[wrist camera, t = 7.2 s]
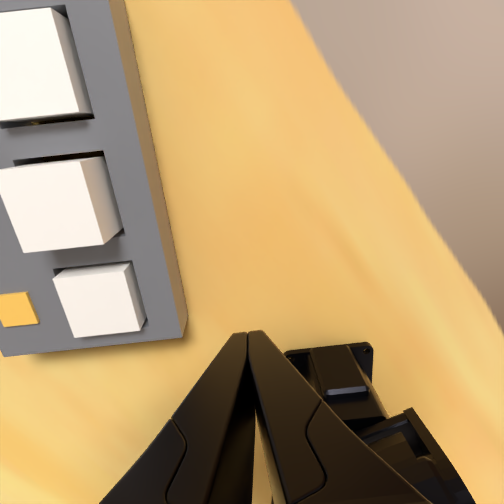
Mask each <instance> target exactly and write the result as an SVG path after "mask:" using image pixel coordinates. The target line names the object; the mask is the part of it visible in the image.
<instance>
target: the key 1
mask: <svg viewBox="0 0 504 504" xmlns="http://www.w3.org/2000/svg"><path fill="white" fill-rule="evenodd" d="M87 116H94V113H93V109H92V105H91V101H90V98H89V94H88V90H87V86H86V82H85V79H84V75H83V71H82V67H81V63H80V59H79V56H78V52H77V48H76V44H75V40H74V37H73V33H72V29H71V25H70V21H69V19H67V18H66V17H64V16H63V15H61V14H60V13H58V12H57V11H55V10H53V9H52V8H41V9H31V10H22V11H13V12H3V13H0V121H9V122H41V121H50V120H59V119H69V118H78V117H87Z"/></svg>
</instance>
